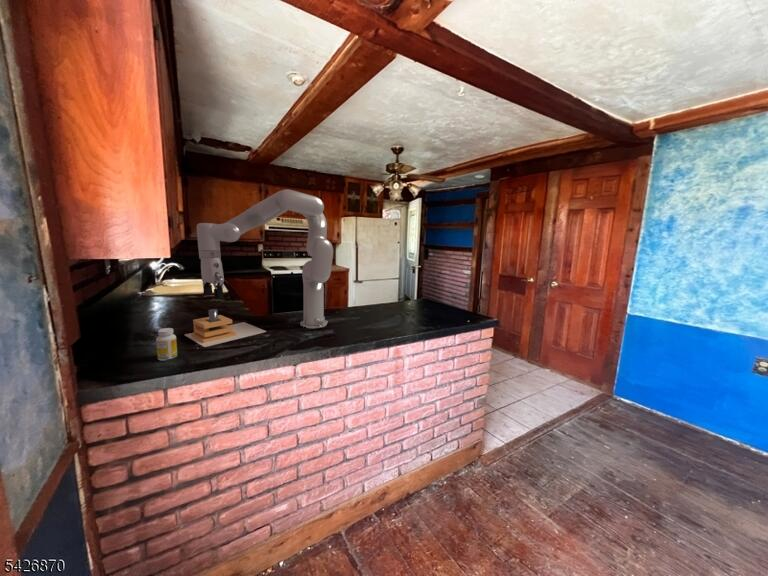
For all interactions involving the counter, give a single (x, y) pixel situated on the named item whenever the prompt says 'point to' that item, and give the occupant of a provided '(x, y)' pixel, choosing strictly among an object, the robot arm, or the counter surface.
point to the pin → (213, 318)
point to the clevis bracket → (206, 335)
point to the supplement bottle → (166, 344)
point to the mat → (241, 332)
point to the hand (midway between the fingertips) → (213, 296)
